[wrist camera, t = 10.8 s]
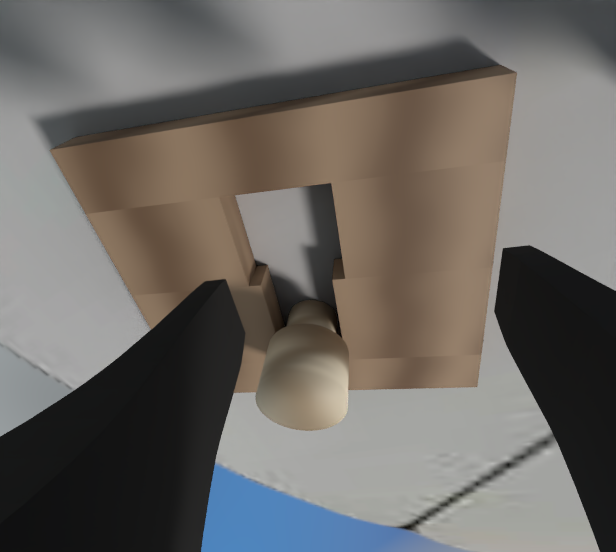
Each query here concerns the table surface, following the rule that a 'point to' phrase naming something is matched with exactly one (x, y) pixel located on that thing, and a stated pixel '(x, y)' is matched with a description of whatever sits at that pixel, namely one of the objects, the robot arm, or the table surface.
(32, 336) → the table surface
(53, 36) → the table surface
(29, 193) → the table surface
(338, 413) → the birch peg
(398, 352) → the keyhole plate
